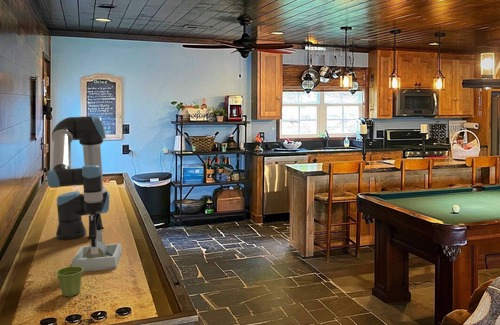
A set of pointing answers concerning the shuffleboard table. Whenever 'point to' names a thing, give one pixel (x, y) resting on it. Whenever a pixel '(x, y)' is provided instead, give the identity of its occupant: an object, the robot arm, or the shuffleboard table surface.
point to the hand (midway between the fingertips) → (97, 249)
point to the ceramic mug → (99, 251)
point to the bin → (97, 259)
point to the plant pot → (70, 280)
